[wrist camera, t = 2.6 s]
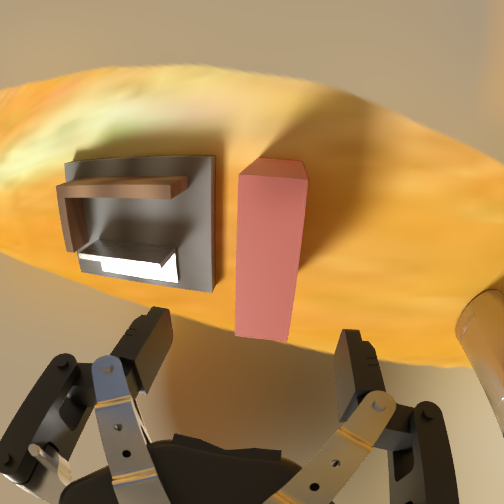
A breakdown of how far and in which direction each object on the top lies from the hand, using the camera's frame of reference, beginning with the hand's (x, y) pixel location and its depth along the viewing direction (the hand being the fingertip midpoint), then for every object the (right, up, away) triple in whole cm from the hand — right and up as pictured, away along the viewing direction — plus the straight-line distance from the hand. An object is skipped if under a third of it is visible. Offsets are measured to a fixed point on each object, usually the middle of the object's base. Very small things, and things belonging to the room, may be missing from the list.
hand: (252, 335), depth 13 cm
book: (+2, +7, +15) cm, 17 cm away
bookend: (-13, +3, +17) cm, 22 cm away
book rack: (-13, +8, +16) cm, 22 cm away
